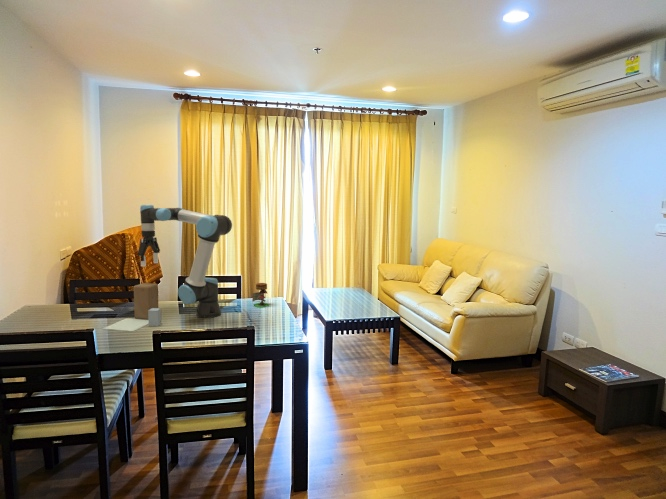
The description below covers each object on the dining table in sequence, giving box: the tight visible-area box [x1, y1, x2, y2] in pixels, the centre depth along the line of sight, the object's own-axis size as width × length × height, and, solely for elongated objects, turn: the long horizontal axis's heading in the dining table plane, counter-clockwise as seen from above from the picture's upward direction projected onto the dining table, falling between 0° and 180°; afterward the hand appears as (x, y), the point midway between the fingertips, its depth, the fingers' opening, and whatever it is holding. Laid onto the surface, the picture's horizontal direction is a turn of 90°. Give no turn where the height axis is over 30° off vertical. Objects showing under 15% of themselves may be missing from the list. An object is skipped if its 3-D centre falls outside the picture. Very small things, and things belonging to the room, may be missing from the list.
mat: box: [102, 317, 149, 333], centre depth 234 cm, size 18×20×1 cm
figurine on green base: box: [252, 282, 270, 308], centre depth 284 cm, size 12×13×15 cm
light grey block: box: [148, 307, 162, 327], centre depth 236 cm, size 5×5×9 cm
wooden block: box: [133, 282, 159, 320], centre depth 249 cm, size 10×10×20 cm
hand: (149, 264), depth 257 cm, fingers open, 13 cm apart
